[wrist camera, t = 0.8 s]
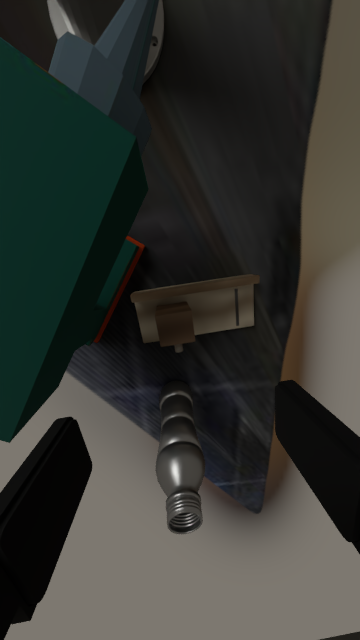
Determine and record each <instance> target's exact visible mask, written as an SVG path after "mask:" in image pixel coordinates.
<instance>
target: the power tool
mask: <svg viewBox="0 0 360 640" xmlns="http://www.w3.org/2000/svg"><path fill="white" fill-rule="evenodd" d="M158 3H159V0H125V1H124V2H123V4H122V5H121V7H120V8H119V10H118V11H117V13H116V14H115V16H114V17H113V19H112V20H111V22H110V23H109V25H108V26H107V28H106V29H105V31H104V32H103V34H102V35H101V37H100V38H99V40H98V41H97V43H96V44H95V46H94V45H92V44H90V43H88V42H87V41H85V40H83V39H81V38H79V37H77V36H76V35H74V34H72V33H70V32H68V31H67V32H66V33H65V34H64V35H63V36H61V37H60V38H59V39H58V41H57V44H56V48H55V51H54V55H53V58H52V61H51V65H50V68H49V72H47V71H46V70H44V69H43V68H41V67H40V66H39V65H37V64H36V63H35V62H33V61H32V60H31V59H29V58H28V57H26V56H25V55H24V54H22V53H21V52H20V51H18V50H17V49H15V48H14V47H13V46H11V45H10V44H9V43H7V42H6V41H5V40H3V39H2V38H0V440H2V441H5V442H9V443H10V442H11V440H12V439H13V438H14V437H15V436H16V435H17V434H18V432H19V431H20V430H21V429H22V428H23V427H24V426H25V424H26V423H27V422H28V421H29V420H30V419H31V417H32V416H33V415H34V414H35V413H36V412H37V411H38V409H39V408H40V407H41V406H42V405H43V404H44V403H45V401H46V400H47V399H48V398H49V397H50V396H51V394H52V393H53V392H54V391H55V390H56V389H57V387H58V386H59V384H60V382H61V380H62V377H63V375H64V373H65V371H66V369H67V366H68V364H69V362H70V360H71V358H72V355H73V353H74V351H75V350H77V349H78V348H80V347H81V346H83V345H84V344H86V345H88V346H90V344H91V343H92V342H93V341H94V342H96V343H98V341H99V340H100V338H101V336H102V334H103V332H104V330H105V328H106V326H107V324H108V322H109V320H110V317H111V315H112V313H113V311H114V309H115V307H116V305H117V303H118V301H119V299H120V297H121V295H122V293H123V291H124V289H125V287H126V285H127V283H128V281H129V278H130V276H131V274H132V272H133V270H134V268H135V266H136V264H137V262H138V260H139V258H140V256H141V254H142V252H143V250H144V248H145V246H144V245H143V244H141V243H139V242H138V241H136V240H134V239H133V238H131V237H129V236H127V235H128V233H129V231H130V228H131V226H132V224H133V222H134V220H135V218H136V215H137V213H138V211H139V209H140V207H141V204H142V202H143V200H144V198H145V196H146V193H147V191H148V185H147V181H146V176H145V172H144V168H143V163H142V159H141V155H142V153H143V151H144V148H145V146H146V144H147V141H148V139H149V136H150V133H151V130H152V128H151V125H150V122H149V119H148V117H147V114H146V111H145V108H144V106H143V104H142V103H141V101H140V95H141V90H142V85H143V80H144V74H145V69H146V64H147V59H148V54H149V49H150V44H151V39H152V34H153V29H154V24H155V18H156V13H157V8H158Z"/></svg>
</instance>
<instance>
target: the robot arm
mask: <svg viewBox="0 0 360 640" xmlns="http://www.w3.org/2000/svg"><path fill="white" fill-rule="evenodd" d="M124 1H125V0H47V3H48V9H49V14H50V19H51V22H52V25H53V29H54V32H55V34H56V37H57V39H59V38H60V37H61V36H63V35H64V34H65V33H66V32H67V31H68V32H70V33H72V34H74V35H76V36H77V37H79V38H81V39H83V40H85V41H87V42H88V43H90V44H92V45H94V46H95V44H96V43H97V41H98V40H99V38H100V37H101V35H102V34H103V32H104V31H105V29H106V28H107V26H108V25H109V23H110V22H111V20H112V19H113V17H114V16H115V14H116V13H117V11H118V10H119V8H120V7H121V5H122V4H123V2H124ZM163 38H164V9H163V1H162V0H159V3H158V8H157V13H156V18H155V24H154V29H153V34H152V39H151V44H150V49H149V54H148V59H147V64H146V69H145V74H144V80H143V84H144V82H145V81H146V80H147V79H148V78H149V77H150V76H151V74H152V73H153V71H154V69H155V68H156V65H157V63H158V61H159V58H160V55H161V50H162V46H163ZM275 431H276V435H277V438H278V439H279V441H280V443H281V444H282V446H283V447H284V448H285V450H286V452H287V453H288V455H289V456H290V457H291V459H292V461H293V462H294V464H295V465H296V467H297V468H298V470H299V471H300V473H301V474H302V476H303V477H304V478H305V480H306V482H307V483H308V485H309V486H310V488H311V489H312V491H313V492H314V493H315V495H316V497H317V498H318V500H319V501H320V503H321V504H322V506H323V507H324V509H325V510H326V512H327V513H328V515H329V516H330V518H331V520H332V521H333V523H334V524H335V526H336V527H337V529H338V530H339V532H340V533H341V534H342V536H343V537H344V538H345V539H346V540H347V541H348V542H352V543H353V545H354V546H355V548H356V549H357V551H358V552H359V554H360V437H359V436H358V435H356V434H355V433H354V432H353V431H352V430H351V429H350V428H348V427H347V426H346V425H345V424H344V423H343V422H341V421H340V420H339V419H338V418H336V416H334V415H333V414H332V413H331V412H330V411H329V410H327V409H326V408H325V407H324V406H323V405H322V404H320V403H319V402H318V401H317V400H316V399H315V398H313V397H312V396H311V395H310V394H309V393H308V392H306V391H305V390H304V389H303V388H302V387H301V386H299V385H298V384H297V383H296V382H295V381H293V380H287V381H281V382H279V383H278V386H276V387H275ZM91 471H92V461H91V458H90V456H89V453H88V450H87V447H86V445H85V442H84V439H83V437H82V434H81V431H80V428H79V425H78V422H77V421H76V420H74V419H73V418H72V417H65V418H60V419H57V420H55V421H54V423H53V424H52V425H51V427H50V428H49V429H48V431H47V432H46V433H45V435H44V436H43V437H42V438H41V440H40V441H39V443H38V444H37V445H36V446H35V448H34V449H33V450H32V452H31V453H30V454H29V456H28V457H27V458H26V460H25V461H24V462H23V464H22V465H21V466H20V468H19V469H18V470H17V472H16V473H15V474H14V475H13V477H12V478H11V479H10V481H9V482H8V483H7V485H6V486H5V487H4V489H3V490H2V492H1V493H0V640H4V638H5V636H6V634H7V632H8V629H9V627H10V625H11V624H16V623H21V622H26V621H30V620H31V618H32V615H33V613H34V610H35V608H36V605H37V603H39V602H40V601H41V600H42V598H43V596H44V595H45V592H46V590H47V588H48V585H49V582H50V579H51V577H52V574H53V572H54V569H55V566H56V564H57V561H58V559H59V556H60V553H61V551H62V548H63V545H64V542H65V540H66V537H67V535H68V532H69V529H70V527H71V524H72V522H73V519H74V516H75V514H76V511H77V509H78V506H79V503H80V501H81V498H82V495H83V493H84V490H85V487H86V485H87V482H88V480H89V477H90V474H91ZM320 640H360V632H355V633H350V634H345V635H340V636H336V637H330V638H325V639H320Z"/></svg>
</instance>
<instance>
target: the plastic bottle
mask: <svg viewBox="0 0 360 640" xmlns="http://www.w3.org/2000/svg"><path fill="white" fill-rule="evenodd" d="M159 406H160V411H161V423H162V426H161V438H160V444H159V450H158V455H157V461H156V474H157V479H158V482H159V484H160V486H161V488H162V489H163V491H164V493H165V494H166V495H167V497H168V498H167V500H166V510H167V525H168V529H169V530H170V531H171V532H173V533H176V534H187V533H190V532H193V531H195V530H197V529H198V528H199V527H200V526H201V524H202V521H203V520H202V511H201V498H200V495H199V494H198V490H199V488H200V486H201V483H202V480H203V477H204V473H205V459H204V455H203V452H202V449H201V446H200V443H199V440H198V437H197V434H196V429H195V426H194V420H193V408H192V407H193V394H192V392H191V389H190V387H189V386H188V385H187V384H186V383H184V382H182V381H171V382H169V383H167V384H166V385H165V386H164V387H163V388H162V390H161V393H160V396H159Z"/></svg>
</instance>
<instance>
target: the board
mask: <svg viewBox="0 0 360 640" xmlns="http://www.w3.org/2000/svg"><path fill="white" fill-rule="evenodd" d="M258 283H259V275H252V274H247V275H240V276H233V277H227V278H220V279H214V280H207V281H201V282H194V283H187V284H181V285H174V286H168V287H161V288H155V289H148V290H141V291H135V292H133V293H132V294H131V295H130V297H131V301H132V303H134V302H135V307H136V311H137V316H138V320H139V325H140V329H141V334H142V338H143V343H149V342H155V341H159V336H158V330H157V325H156V320H155V313H156V308H157V306H161V305H167V304H174V303H180V302H187V303H188V305H189V307H190V309H191V310H192V318H193V326H194V334H195V335H199V334H205V333H211V332H217V331H223V330H230V329H236V328H242V327H248V326H254V287H253V284H258Z"/></svg>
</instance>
